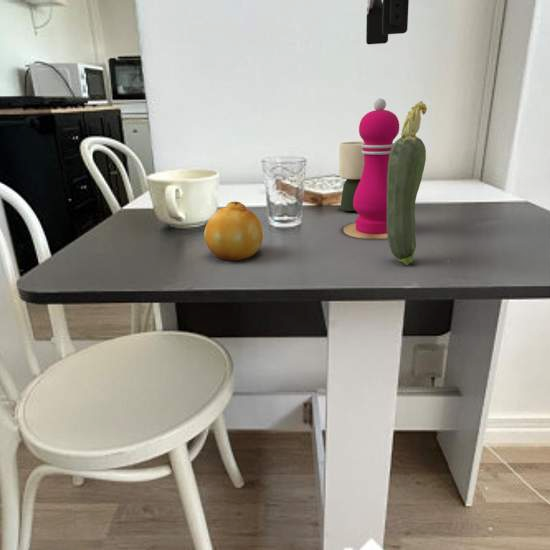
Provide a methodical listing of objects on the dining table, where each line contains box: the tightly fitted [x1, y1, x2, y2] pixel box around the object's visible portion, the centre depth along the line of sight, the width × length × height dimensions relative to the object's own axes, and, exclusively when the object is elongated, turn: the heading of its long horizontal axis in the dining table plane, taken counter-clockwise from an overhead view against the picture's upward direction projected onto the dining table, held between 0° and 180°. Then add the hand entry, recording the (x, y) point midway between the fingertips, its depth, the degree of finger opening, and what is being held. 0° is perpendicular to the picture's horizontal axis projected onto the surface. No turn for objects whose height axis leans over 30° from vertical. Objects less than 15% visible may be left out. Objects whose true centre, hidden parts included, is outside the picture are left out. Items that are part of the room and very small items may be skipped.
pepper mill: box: [353, 98, 400, 234], centre depth 69 cm, size 7×7×20 cm
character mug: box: [338, 140, 364, 212], centre depth 84 cm, size 11×7×13 cm, turn 24°
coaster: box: [343, 222, 388, 240], centre depth 72 cm, size 10×10×1 cm
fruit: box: [203, 200, 264, 261], centre depth 62 cm, size 8×8×8 cm
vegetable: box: [387, 100, 428, 266], centre depth 55 cm, size 4×4×20 cm
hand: (385, 38), depth 62 cm, fingers open, 9 cm apart
